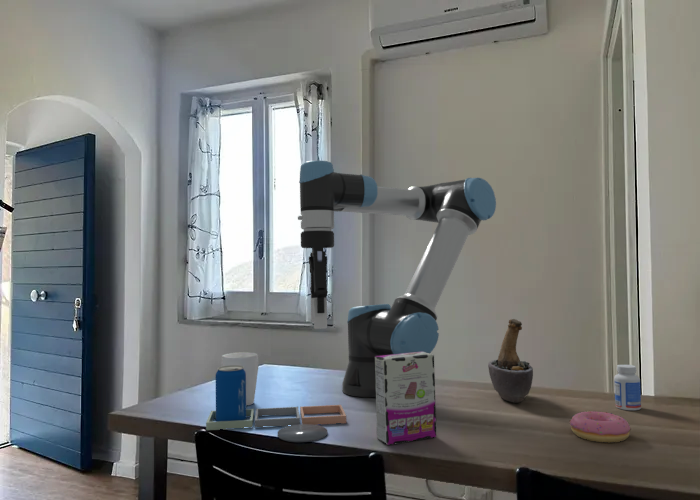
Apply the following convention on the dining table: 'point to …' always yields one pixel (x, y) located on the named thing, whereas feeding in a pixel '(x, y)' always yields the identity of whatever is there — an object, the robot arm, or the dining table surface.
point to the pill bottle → (627, 388)
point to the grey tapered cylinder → (250, 367)
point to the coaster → (302, 433)
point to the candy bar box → (405, 397)
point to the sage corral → (229, 422)
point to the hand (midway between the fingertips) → (318, 325)
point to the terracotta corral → (322, 419)
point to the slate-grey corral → (279, 420)
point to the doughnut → (600, 426)
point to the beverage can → (230, 393)
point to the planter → (511, 368)
